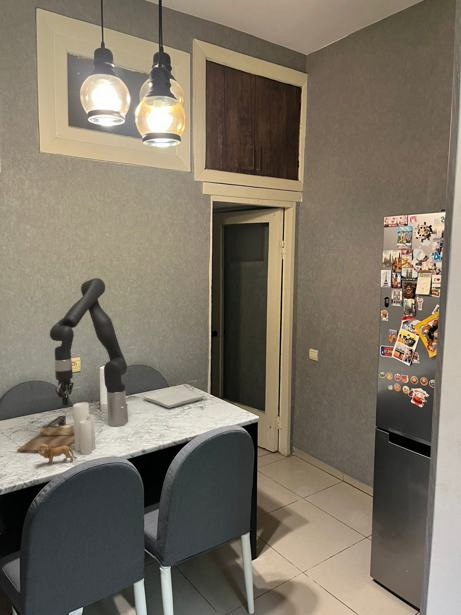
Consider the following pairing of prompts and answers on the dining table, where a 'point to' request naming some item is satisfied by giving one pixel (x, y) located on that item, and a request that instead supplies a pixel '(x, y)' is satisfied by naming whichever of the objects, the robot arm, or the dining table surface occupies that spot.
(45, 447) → the lion figurine
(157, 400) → the square plate
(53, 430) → the maple link
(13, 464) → the dining table surface
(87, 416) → the white pillar candles
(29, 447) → the walnut board
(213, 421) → the dining table surface
